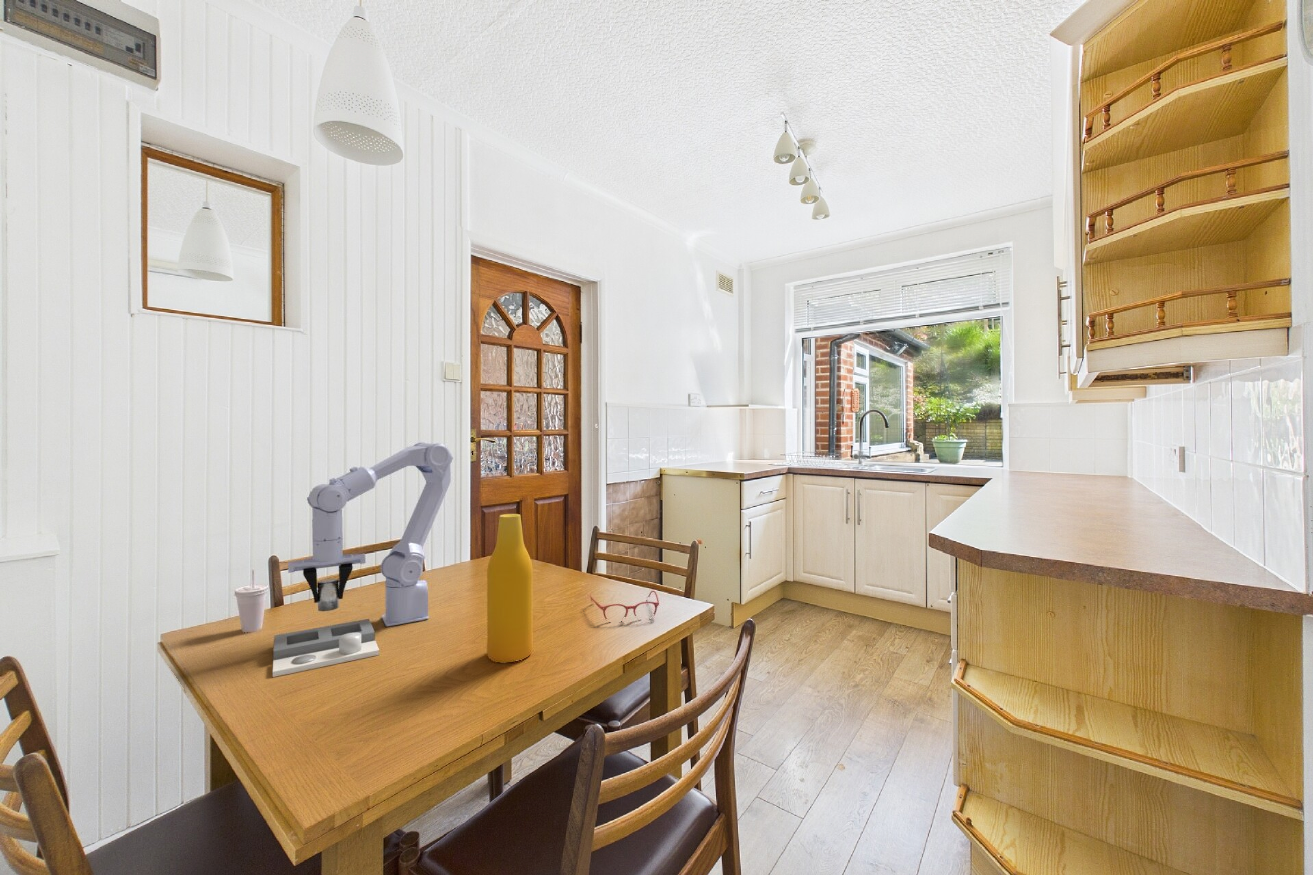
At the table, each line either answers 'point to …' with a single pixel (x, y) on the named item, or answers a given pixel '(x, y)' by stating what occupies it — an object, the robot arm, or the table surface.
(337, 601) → the pin
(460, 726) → the table surface
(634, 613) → the red eyeglasses
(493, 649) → the beer bottle
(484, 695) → the table surface
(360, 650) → the white peg base plate
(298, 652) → the grey square hole plate
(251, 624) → the smoothie
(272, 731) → the table surface
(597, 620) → the table surface
